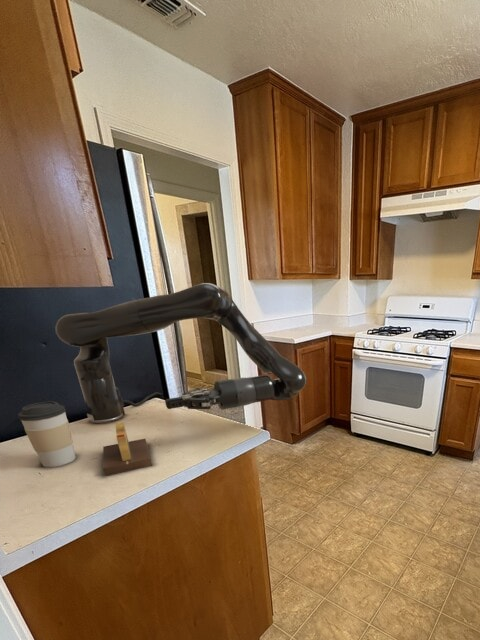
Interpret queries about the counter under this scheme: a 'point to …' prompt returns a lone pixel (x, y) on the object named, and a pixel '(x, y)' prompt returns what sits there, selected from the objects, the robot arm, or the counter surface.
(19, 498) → the counter surface
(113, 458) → the brown square board
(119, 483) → the counter surface
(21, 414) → the coffee cup
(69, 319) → the robot arm
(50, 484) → the counter surface
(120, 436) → the wooden toy block
